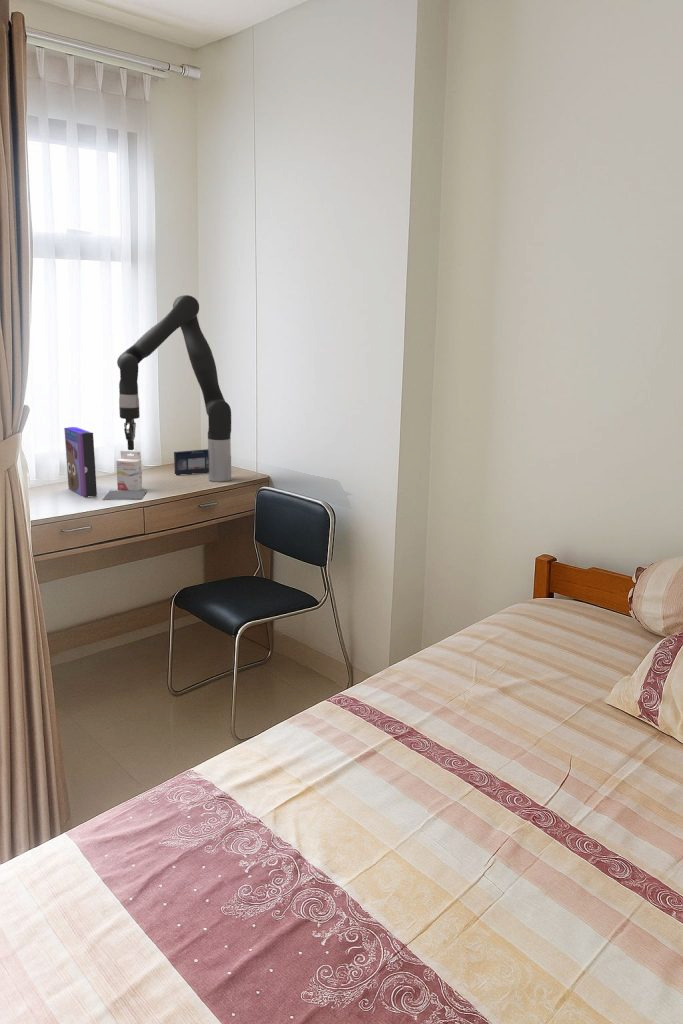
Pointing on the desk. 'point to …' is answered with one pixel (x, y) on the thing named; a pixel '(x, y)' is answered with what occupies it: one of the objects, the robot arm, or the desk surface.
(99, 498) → the desk surface
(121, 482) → the ink cartridge box
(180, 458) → the vhs cassette tape
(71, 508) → the desk surface
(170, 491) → the desk surface
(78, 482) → the cereal box
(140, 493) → the mat
